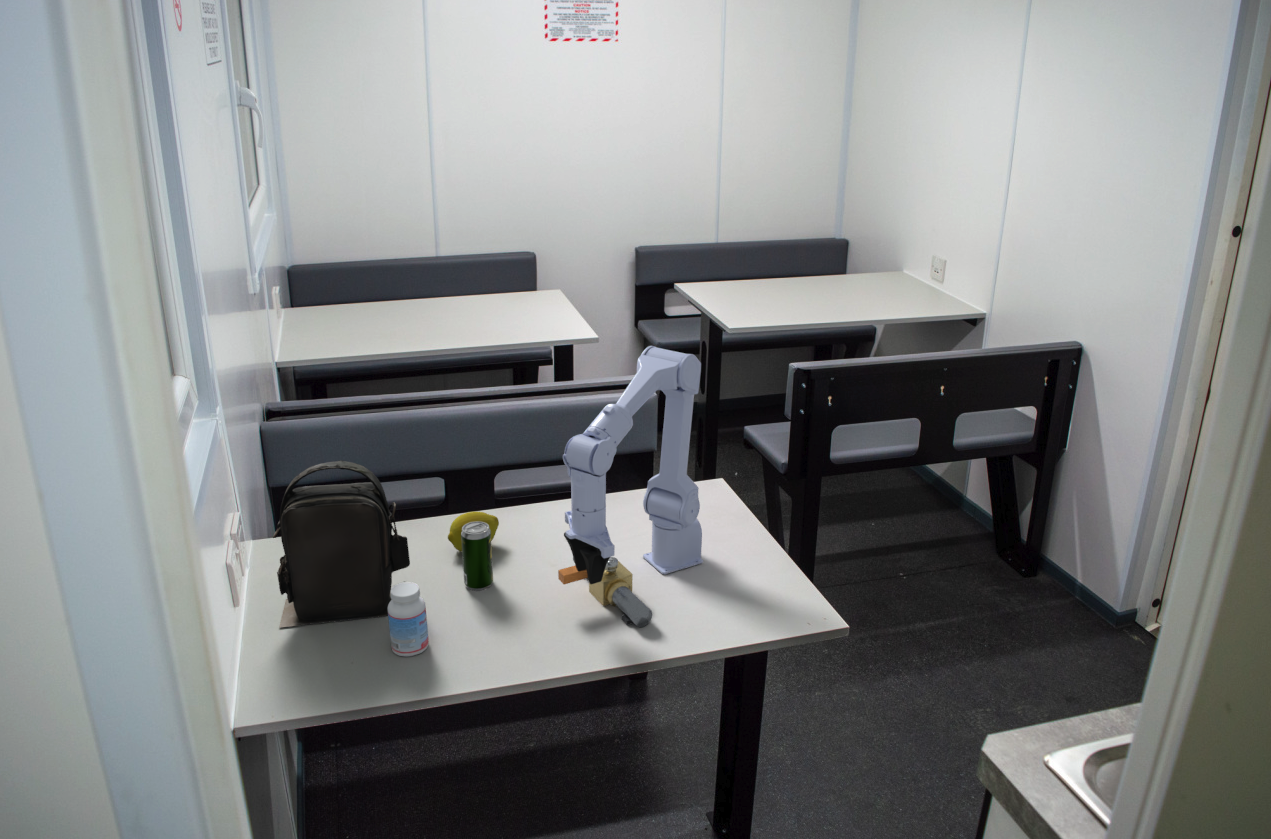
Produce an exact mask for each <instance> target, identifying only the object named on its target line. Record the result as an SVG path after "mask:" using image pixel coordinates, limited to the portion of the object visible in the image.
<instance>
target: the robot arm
mask: <svg viewBox="0 0 1271 839" xmlns="http://www.w3.org/2000/svg"><path fill="white" fill-rule="evenodd" d="M701 373H702V362H701V361H700V360H699V359H698V357H697V356H696V355H695V354H693V353H684V352H679V351H675V350H670V349H665V348H661V347H657V346H654V345H648V346H647V347H646V348H645V349H644V350H643V351H642V353H641V354H640V356H639V357H638V358H637V362H636V373H635V374H634V376H633V378H632V379H631V381H630V382H629V384H628V385H627V386H626V388H625V389H624V391H623V392H622V394H621V396H620V397H619V398H618V400H617V402H615V403H608V404H607V405H605V406H604V407H603V408H602V410H601V411H600V412H599V414H597V416H596V417H595V418H594V420H592V421H591V423H590V424H589V426H588V427H587V428H586V429H585V431H583V433H581V434H580V433H578V434H576V435H574V436H572V437H571V438H570V439H569V440H568V441H567V442H566V445H565V447H564V454H562V460H563V463H564V465H565V466H566V468H567V476H568V477H569V478H570V487H571V488H570V490H571V491H570V493H571V495H570V496H571V500H570V501H571V507H570V508H571V510H568V511H565V512H564V522H565V523H566V524H567V525H568V526H569V529H567V530H566V531H565V532H564V533H563V536H564V538H565V540H566V542H567V544H568V546H569V549H570V551H571V553H572V559H573V558H574V561H573V563H574V562H575V563H574V566H576V569H577V571H578V572H579V571H583V570H586V569H587V576H588V578H587V581H588V583H590V584H594V583H598V582H601V581H602V577H603V574H604V570H605V567H606V564H607V562H608V560H609V558H610V557H614V556H615V548H616V547H615V544H613V542H612V540H611V537H610V533H609V530H608V527H607V520H606V519H607V516H606V515H607V514H606V513H607V508H606V507H607V504H606V503H607V502H606V501H607V497H606V496H607V494H606V492H607V485H606V484H607V481H606V480H607V479H606V478H607V472H608V471H609V470H610V469H611V467H612V464H613V462H614V457H615V455H616V454H617V451H618V450H617V447H618V445H620V443H621V442H622V441H623V439H624V438H625V437H626V436H627V434H628V433H629V432H630V431H631V429H632V427H633V426H634V420H633V416H634V415H635V414H636V413H637V412H638V411H639V410H640V408H642V406H643V405H644V404H645V403H646V402H647V401H648V400H649V399H650V398H651V397H652V396H653V395H654V394H655V393H656V392H657V391H661V392H663V394H664V395H665V405H664V406H665V407H664V416H663V418H664V419H663V428H662V439H661V449H660V450H661V452H660V463H659V473H657V474H655V475H653V476H652V477H651V478H649V480H647V486H646V492H645V493H644V496H643V501H642V506H643V510H644V512H645V513H646V514H647V515H648V516H649V517H648V518H649V519H648V520H649V521H651V522H652V523H651V528H652V529H651V530H652V531H651V552H647V553H643V554H642V558H644V559H645V560H646V561H647V562H648V563H649V564H650V565H651V566H652V567H654V568H655V569H656V570H657V571H658V572H659V573H661V574H662V575H666V574H669V573H670V574H671V573H674V572H677V571H680V570H684V569H686V568H690V567H691V568H692V567H694V566H697V565H701V564H704V560H703V559H702V544H703V541H702V540H703V530H702V525H701V523H700V521H699V519H698V516H699V513H700V507H701V504H700V503H701V502H700V500H699V490H700V489H699V486H698V485H697V484H696V483H695V482H694V481H693V480H692V478H691V477H690V476H689V475H688V462H689V453H690V452H689V451H690V442H691V441H690V440H691V431H692V421H693V413H694V412H693V410H694V401H695V398H694V397H695V395H698V394H699V390H700V381H701Z"/></svg>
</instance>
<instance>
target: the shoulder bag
mask: <svg viewBox="0 0 1271 839" xmlns="http://www.w3.org/2000/svg"><path fill="white" fill-rule="evenodd" d="M334 469H338V470H339V469H340V470H347V471H351V472H352V471H353V472H354V473H358V474H361V475H362V476H363V477H365V478H366V479H367V480H369V481H370V482H366V481H365V482H355V483H353V482H352V483H343V484H342V483H340V484H325V485H324V484H323V485H309V486H308V485H307V486H306V485H305V486H298V487H295V486H296V485H297V484H298V483H299V482H300V481H301V480H302V479H304V478H306V477H307V476H308V475H312V474H314V473H316V472H319V471H324V470H325V471H326V470H334ZM294 487H295V488H294ZM281 501H282V502H281V504H280V511H279V521H278V523H277V525H276V528H277V529H276V531H275V532H274V533H273V536H272V539H274V538H275V539H276V538H277V537H278V536H279V534H280V535H281V536H280V538H281V544H282V547H283V553H284V554H283V556H281V557H280V558H279V564H280V565H279V568H278V570H277V572H276V574H277V580H278V586H279V587H278V588H279V592H280V595H281V596H283V595H284V594H286V598H285V600H284V605H283V610H282V614H281V618H280V622H279V626H278V627H279V629H280V628H287V627H289V628H290V627H296V626H297V627H298V626H307V625H308V626H309V625H317V624H327V623H335V622H336V623H337V622H346V621H356V620H365V619H372V618H373V619H375V618H385V617H388V604H389V602H390V601H391V600H392V599H391V592H390V591H391V588H392V584H393V576H392V574H393V573H394V572H397V571H400V570H404V569H406V568H408V567H410V565H411V560H410V559H411V558H410V551H409V543H408V537H407V536H405V535H404V536H403V535H400V534H398V529H397V525H396V520H395V514H396V509H397V508H396V507H397V503H395V501H393V502H392V503H391V504H390V505H389V504H388V500H387V495H386V493H385V490H384V487H383V485H382V483H381V481H380V480H379V478H378V476H376V475H375V473H374V472H373V471H372V470H370V469H369V468H367V467H365V466H363V465H361V464H359V463H356V462H351V461H345V460H337V461H328V462H324V463H319V464H315V465H312V466H309V467H308V468H306V469H304V470H303V471H301V472H300V473H299V474H298V475H296V476H295V477H294V478H293V479H292V480H291V481H290V482H289V485H288V486H287V488H286V490H285V492H284V495H283V497H282V500H281ZM392 507H393V509H392ZM391 509H392V512H391ZM393 533H394V534H393Z"/></svg>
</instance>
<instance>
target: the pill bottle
mask: <svg viewBox="0 0 1271 839" xmlns="http://www.w3.org/2000/svg"><path fill="white" fill-rule="evenodd" d="M420 590H421V589H420V586H419V584H417V583H416V582H413V581H403V582H399V583H396V584H395V585H393V586H391V591H390V592H391V599H392V600H391V601H390V602H389V604H388V616H387V617H388V618H387V619H388V627H389V635H390V646H391V650H392V652H393V653H394V654H395V655H397V656H400V657H412V656H416V655H419V654H421V653H423V652H424V651H426V649H427V648H428V647H429V644H430V641H429V631H428V630H429V629H428V619H427V618H428V617H427V607H426V602H425V599H424V598H423V597H422V596H421V591H420Z"/></svg>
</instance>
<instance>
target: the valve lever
mask: <svg viewBox="0 0 1271 839" xmlns="http://www.w3.org/2000/svg"><path fill="white" fill-rule="evenodd" d="M618 561H619V560H618V558H616V557H614V556H611V557H610V558H609V560H608V562H607V564H606V567H605V570H604V571H607V572H610V573H611V572H615V571H616V568H617V567H618ZM557 572H558V574H557V576H558V580H559V581H560V582H561V583H562V585H568V584H571V583H574V582H578V581H581V580H585V579H588V576H587V569H586V570H583V571H579V572H578V571H577V569H576V566H575V565H571V566H569V567H565V568H561V569H558V571H557Z"/></svg>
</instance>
